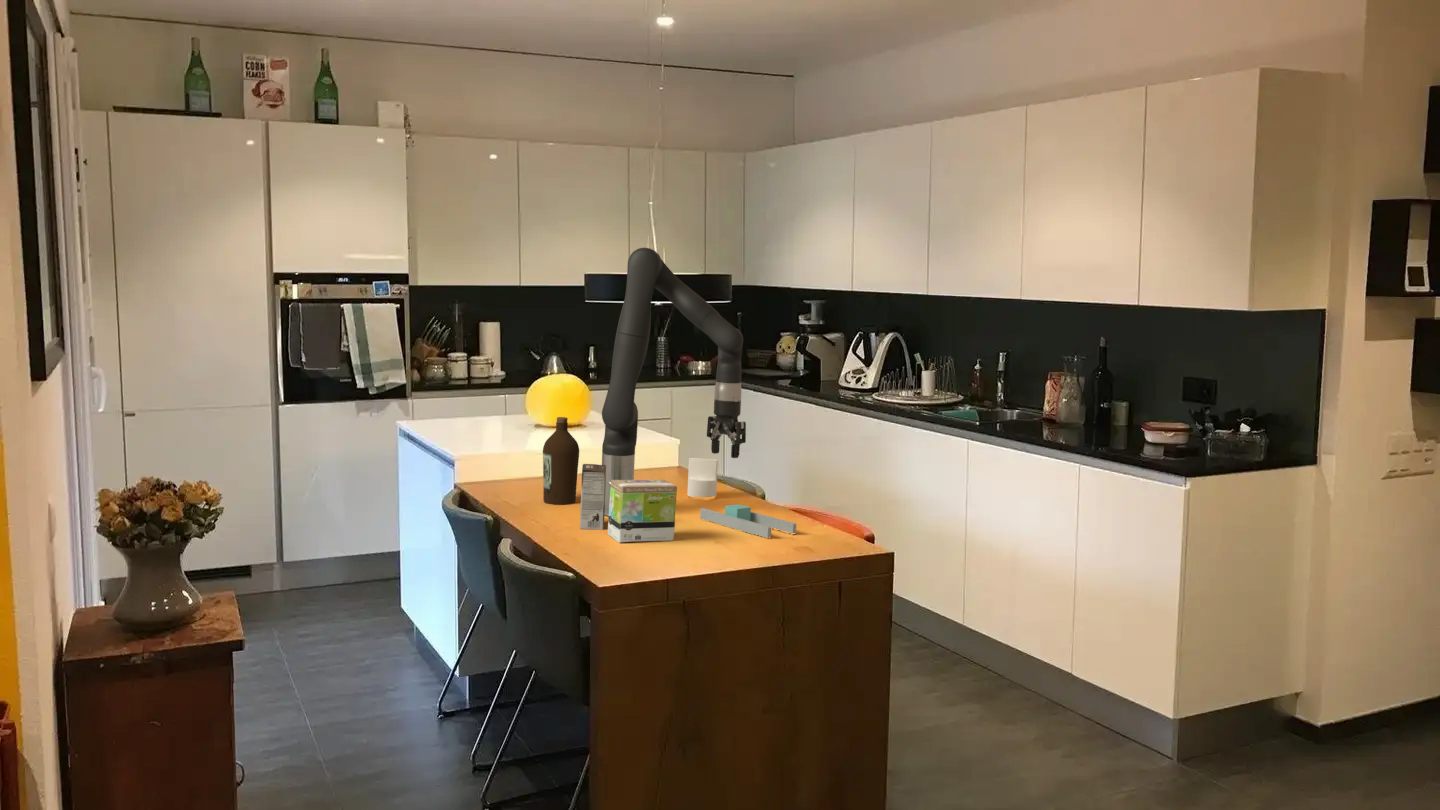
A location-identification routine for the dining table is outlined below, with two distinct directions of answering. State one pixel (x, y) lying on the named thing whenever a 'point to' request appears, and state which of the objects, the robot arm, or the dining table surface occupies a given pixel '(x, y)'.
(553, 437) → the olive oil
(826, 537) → the dining table surface
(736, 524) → the rails
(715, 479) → the cylinder with rectangular tab
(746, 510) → the teal block
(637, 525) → the tea box
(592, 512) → the coffee box
